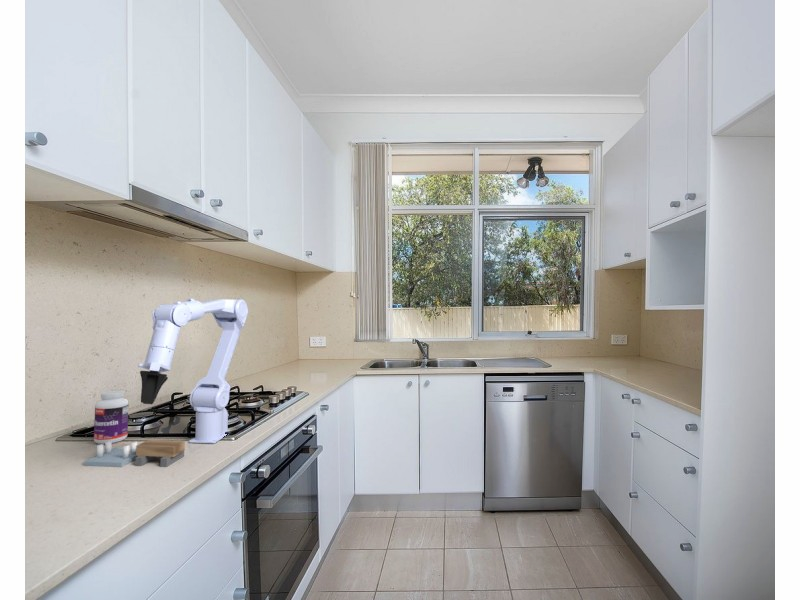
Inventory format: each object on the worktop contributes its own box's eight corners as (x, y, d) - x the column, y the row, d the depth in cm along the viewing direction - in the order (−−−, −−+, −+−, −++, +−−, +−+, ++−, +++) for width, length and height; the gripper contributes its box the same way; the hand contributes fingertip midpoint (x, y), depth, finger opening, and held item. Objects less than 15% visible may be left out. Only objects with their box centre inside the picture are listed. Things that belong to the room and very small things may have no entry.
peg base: (113, 452, 105) (113, 437, 105) (147, 453, 104) (148, 438, 105) (83, 465, 96) (84, 449, 96) (121, 466, 96) (121, 450, 96)
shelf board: (148, 449, 102) (149, 439, 102) (184, 450, 101) (184, 440, 101) (136, 455, 98) (136, 445, 98) (173, 457, 97) (173, 447, 97)
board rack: (155, 455, 103) (155, 447, 103) (184, 456, 103) (184, 448, 103) (135, 465, 96) (135, 457, 96) (166, 466, 96) (166, 458, 96)
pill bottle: (87, 446, 110) (88, 395, 110) (103, 437, 117) (104, 389, 118) (119, 444, 111) (120, 394, 111) (132, 435, 119) (133, 388, 119)
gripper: (145, 350, 103) (130, 402, 98) (141, 341, 91) (124, 400, 86) (175, 354, 106) (161, 405, 101) (175, 346, 94) (160, 403, 89)
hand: (146, 403), depth 94 cm, fingers open, 7 cm apart
